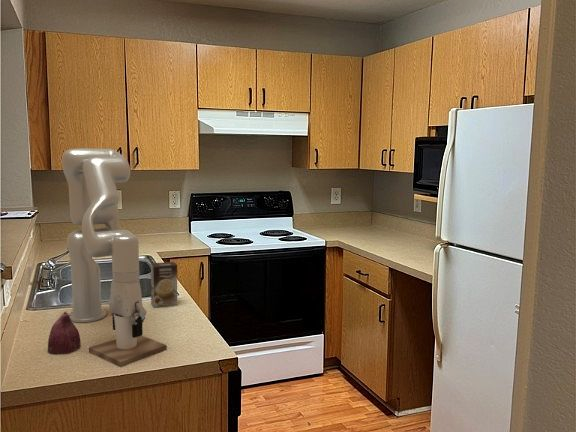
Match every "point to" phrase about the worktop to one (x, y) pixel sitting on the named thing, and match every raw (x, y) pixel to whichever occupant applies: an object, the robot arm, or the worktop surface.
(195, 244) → the worktop surface
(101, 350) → the walnut board
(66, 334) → the vegetable
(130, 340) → the white coffee cup
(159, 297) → the coffee box
